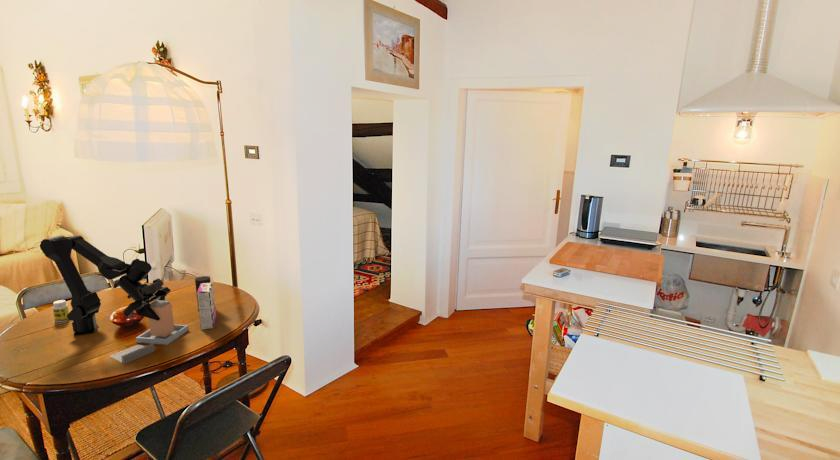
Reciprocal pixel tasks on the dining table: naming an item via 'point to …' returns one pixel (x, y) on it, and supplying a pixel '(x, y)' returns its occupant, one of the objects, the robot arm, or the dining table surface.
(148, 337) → the tray
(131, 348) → the plate
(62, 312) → the supplement bottle
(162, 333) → the tall pink carton
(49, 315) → the dining table surface
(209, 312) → the candy bar box
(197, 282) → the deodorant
